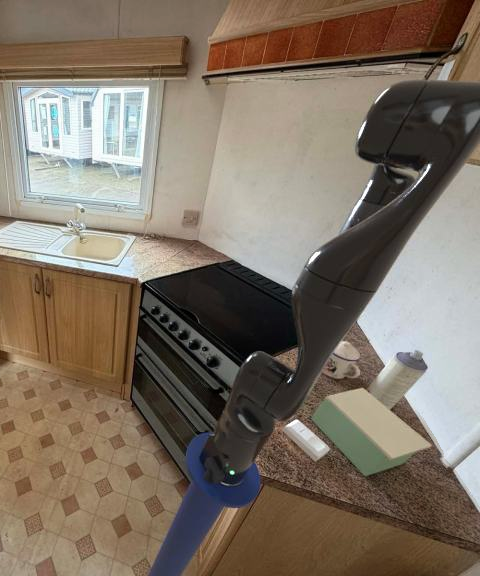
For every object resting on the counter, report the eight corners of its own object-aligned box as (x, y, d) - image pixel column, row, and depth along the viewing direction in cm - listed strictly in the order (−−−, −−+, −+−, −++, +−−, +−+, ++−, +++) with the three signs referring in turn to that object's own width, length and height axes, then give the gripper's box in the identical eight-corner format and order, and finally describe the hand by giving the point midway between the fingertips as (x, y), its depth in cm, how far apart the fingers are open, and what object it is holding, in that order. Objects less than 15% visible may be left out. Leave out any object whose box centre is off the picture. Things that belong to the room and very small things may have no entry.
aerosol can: (384, 395, 94) (427, 347, 83) (395, 414, 88) (442, 365, 77) (359, 389, 95) (397, 340, 84) (368, 406, 90) (410, 357, 79)
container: (402, 463, 76) (425, 443, 71) (364, 476, 72) (386, 456, 68) (345, 409, 88) (361, 389, 83) (310, 418, 85) (325, 398, 80)
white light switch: (293, 423, 83) (297, 417, 82) (326, 453, 77) (331, 447, 75) (281, 430, 81) (285, 424, 80) (315, 461, 75) (320, 455, 73)
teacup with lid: (307, 360, 104) (323, 334, 98) (329, 357, 106) (346, 332, 100) (337, 388, 95) (357, 362, 88) (361, 385, 96) (382, 359, 90)
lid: (430, 447, 70) (432, 445, 70) (390, 460, 67) (392, 458, 67) (361, 389, 83) (362, 387, 83) (325, 397, 80) (326, 395, 80)
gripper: (373, 215, 71) (336, 279, 80) (329, 217, 68) (296, 283, 77) (408, 227, 65) (364, 295, 74) (361, 230, 62) (322, 300, 71)
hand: (329, 289), depth 76 cm, fingers closed
